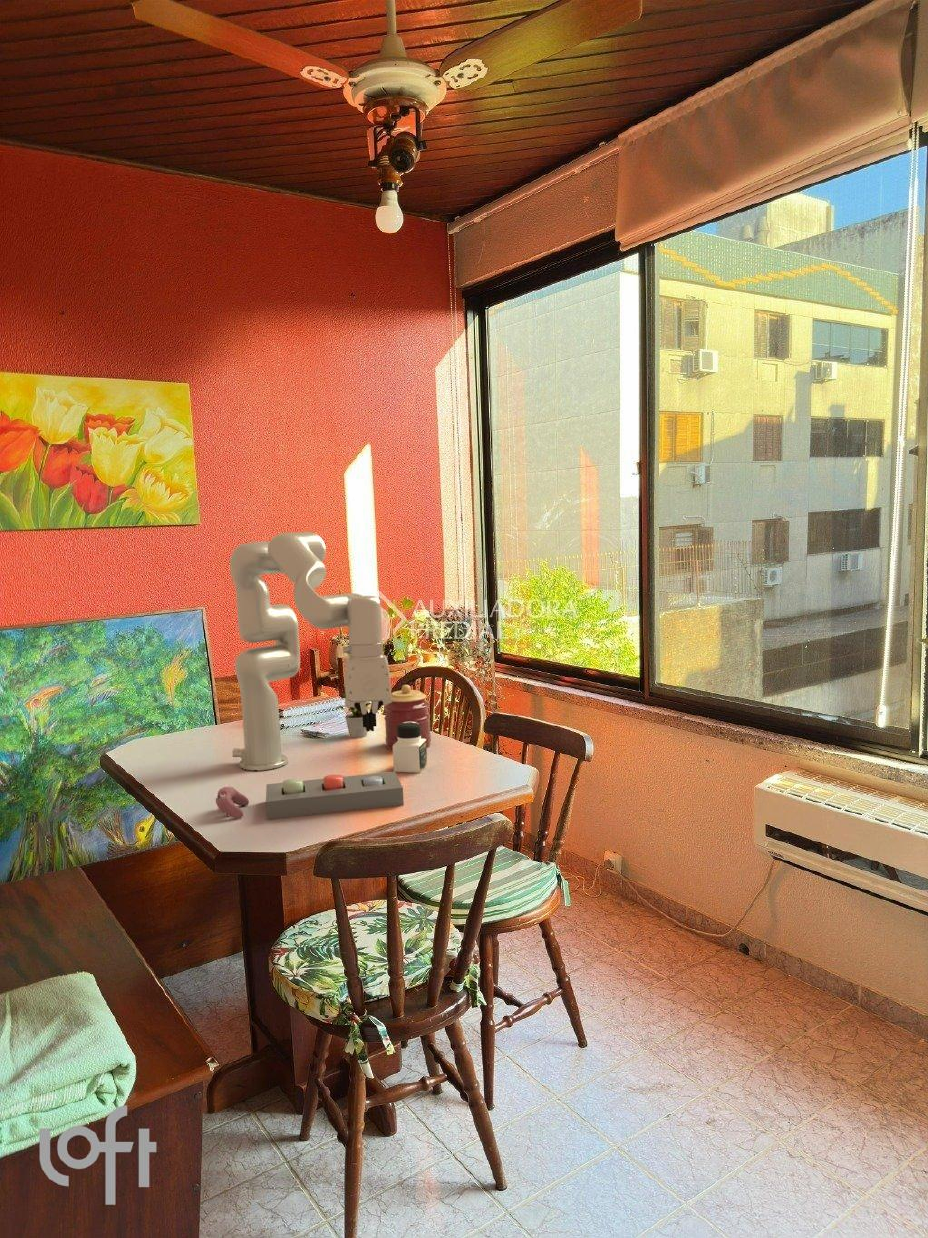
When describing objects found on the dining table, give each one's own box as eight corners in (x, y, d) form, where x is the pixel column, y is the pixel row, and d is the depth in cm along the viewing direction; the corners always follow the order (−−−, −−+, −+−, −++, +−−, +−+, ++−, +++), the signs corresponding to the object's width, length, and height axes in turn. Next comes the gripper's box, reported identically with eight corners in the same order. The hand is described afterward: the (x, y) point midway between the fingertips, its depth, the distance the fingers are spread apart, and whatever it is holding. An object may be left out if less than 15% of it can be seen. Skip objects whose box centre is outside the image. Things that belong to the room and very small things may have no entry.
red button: (324, 795, 191) (323, 781, 191) (323, 789, 195) (322, 775, 195) (344, 793, 192) (343, 779, 192) (342, 787, 196) (342, 773, 196)
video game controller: (233, 812, 195) (217, 786, 194) (251, 802, 195) (235, 777, 194) (226, 827, 185) (209, 800, 184) (244, 817, 185) (227, 790, 184)
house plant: (321, 736, 256) (318, 683, 255) (359, 727, 266) (356, 676, 264) (349, 744, 246) (346, 688, 244) (387, 734, 255) (384, 681, 253)
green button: (283, 799, 189) (283, 785, 189) (283, 793, 193) (282, 779, 193) (303, 797, 190) (303, 783, 190) (303, 791, 194) (302, 777, 194)
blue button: (364, 796, 193) (364, 782, 193) (363, 790, 197) (362, 777, 197) (384, 794, 194) (383, 780, 194) (381, 788, 198) (381, 775, 198)
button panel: (267, 819, 185) (265, 801, 184) (267, 801, 197) (266, 784, 197) (403, 804, 191) (402, 787, 190) (395, 787, 203) (395, 771, 203)
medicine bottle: (420, 773, 215) (418, 726, 213) (393, 772, 216) (391, 726, 215) (427, 765, 222) (425, 720, 220) (401, 764, 223) (399, 719, 222)
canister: (418, 737, 251) (415, 678, 249) (439, 746, 240) (437, 685, 238) (378, 744, 244) (375, 684, 242) (398, 754, 233) (395, 691, 231)
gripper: (333, 655, 187) (338, 736, 189) (401, 651, 190) (404, 731, 192) (331, 650, 194) (335, 729, 196) (396, 646, 197) (399, 723, 199)
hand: (369, 729), depth 194 cm, fingers closed
